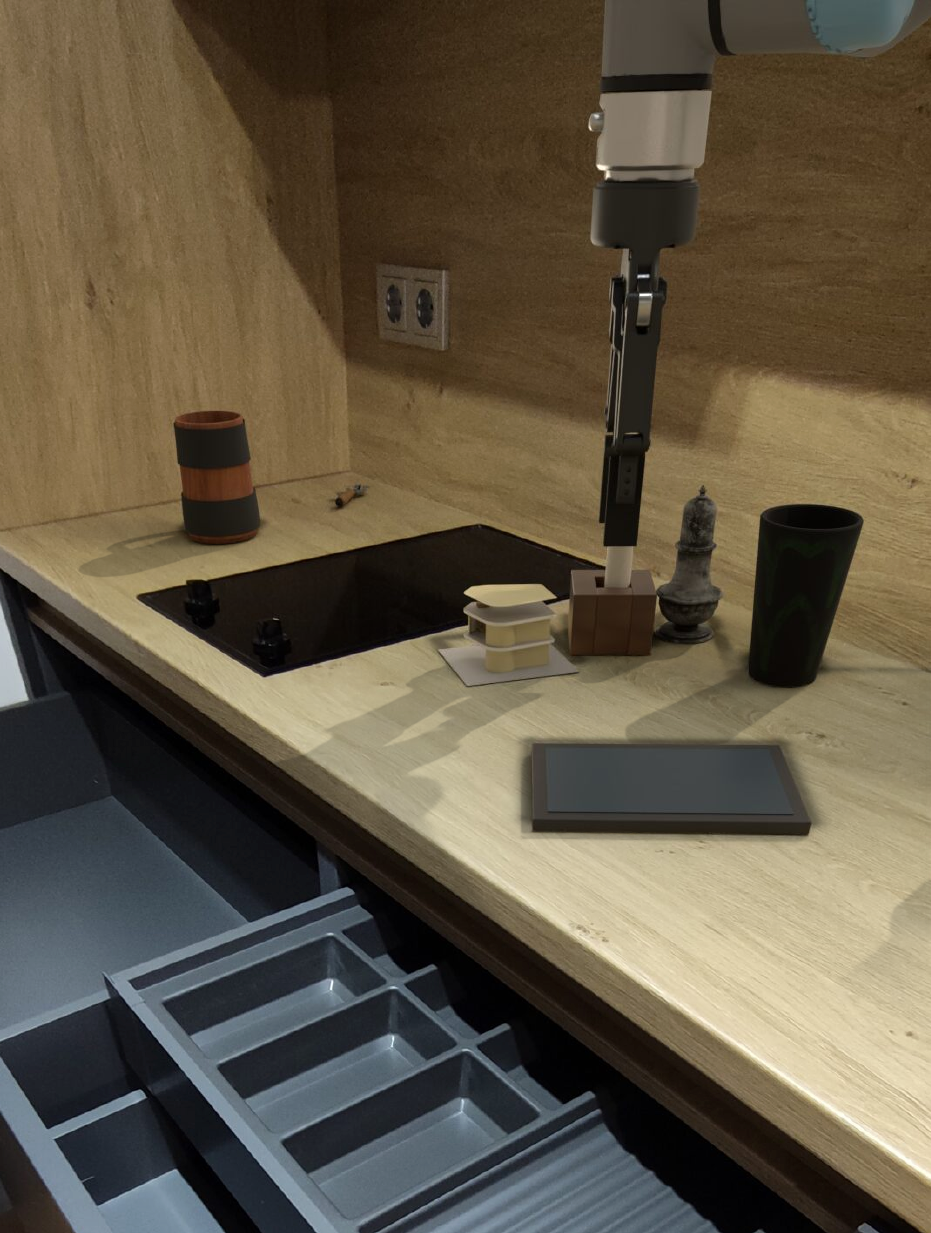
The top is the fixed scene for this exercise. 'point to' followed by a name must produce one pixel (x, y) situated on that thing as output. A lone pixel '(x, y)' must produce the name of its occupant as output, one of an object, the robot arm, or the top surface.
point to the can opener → (349, 494)
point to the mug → (216, 477)
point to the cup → (798, 589)
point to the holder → (611, 614)
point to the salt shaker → (691, 577)
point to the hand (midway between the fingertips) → (617, 532)
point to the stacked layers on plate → (507, 636)
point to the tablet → (665, 789)
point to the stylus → (618, 565)
